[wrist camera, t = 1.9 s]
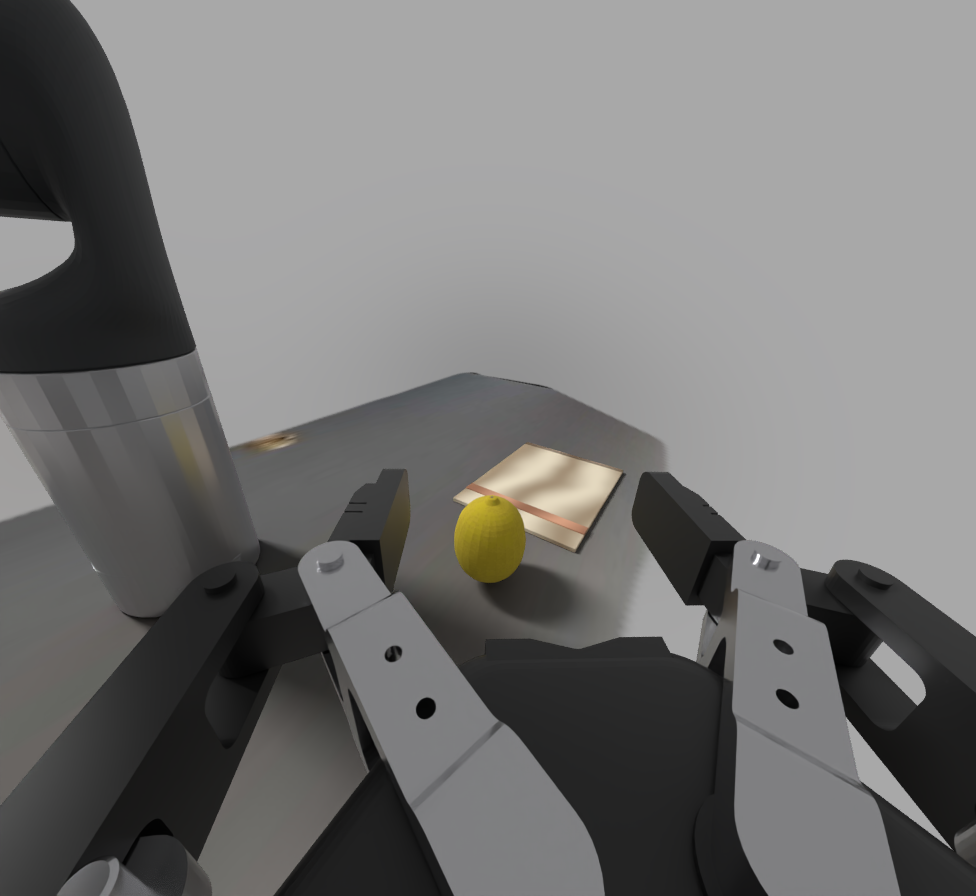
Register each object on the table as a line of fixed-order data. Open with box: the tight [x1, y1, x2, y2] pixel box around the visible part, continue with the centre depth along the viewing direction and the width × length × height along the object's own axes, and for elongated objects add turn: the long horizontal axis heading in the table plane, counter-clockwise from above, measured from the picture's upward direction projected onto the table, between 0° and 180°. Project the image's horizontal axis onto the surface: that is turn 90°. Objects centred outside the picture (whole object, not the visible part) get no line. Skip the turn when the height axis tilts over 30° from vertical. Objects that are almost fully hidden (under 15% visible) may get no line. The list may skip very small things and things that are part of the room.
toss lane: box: [453, 442, 623, 553], centre depth 42 cm, size 14×18×1 cm
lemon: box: [454, 495, 526, 583], centre depth 27 cm, size 6×6×8 cm
